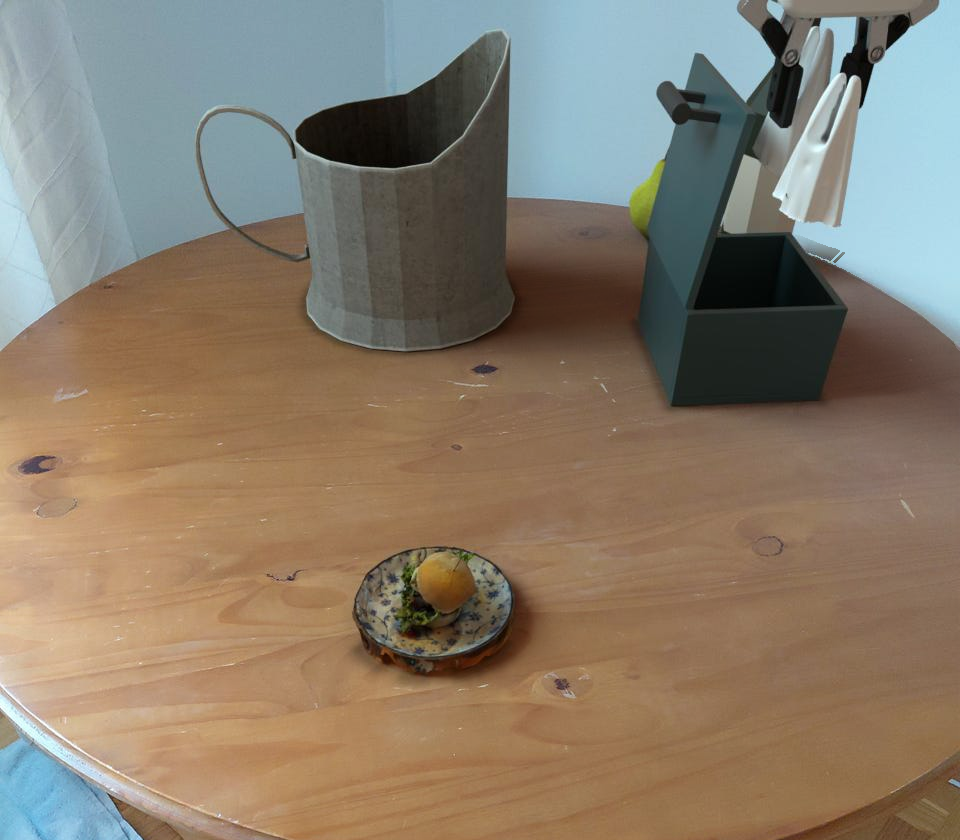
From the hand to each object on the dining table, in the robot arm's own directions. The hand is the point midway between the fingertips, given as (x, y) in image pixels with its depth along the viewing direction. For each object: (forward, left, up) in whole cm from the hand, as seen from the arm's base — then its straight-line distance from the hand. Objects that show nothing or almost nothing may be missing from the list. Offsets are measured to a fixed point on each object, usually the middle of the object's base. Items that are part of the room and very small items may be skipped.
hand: (810, 118), depth 67 cm
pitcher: (+35, -24, -25) cm, 50 cm away
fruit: (0, -39, -25) cm, 47 cm away
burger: (+30, +26, -25) cm, 47 cm away
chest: (-1, -9, -25) cm, 27 cm away
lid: (+5, -9, -8) cm, 13 cm away
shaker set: (0, 0, -6) cm, 6 cm away
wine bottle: (-10, -31, -25) cm, 41 cm away
